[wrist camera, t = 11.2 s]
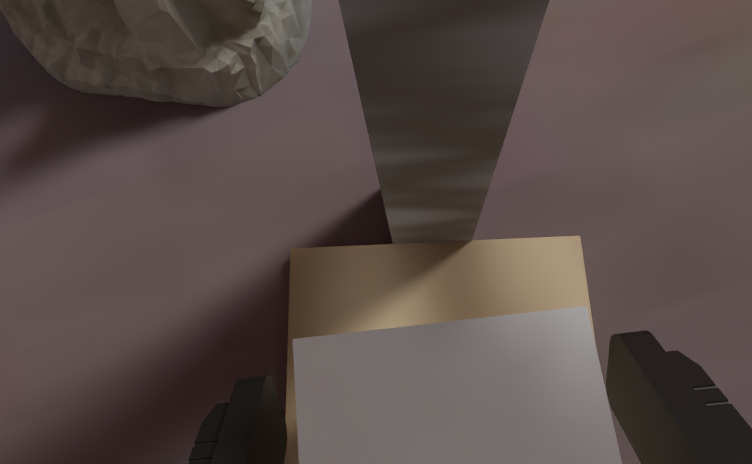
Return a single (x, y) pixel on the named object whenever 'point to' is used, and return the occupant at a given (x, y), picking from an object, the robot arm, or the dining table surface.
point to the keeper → (432, 180)
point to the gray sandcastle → (164, 45)
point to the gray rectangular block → (456, 393)
